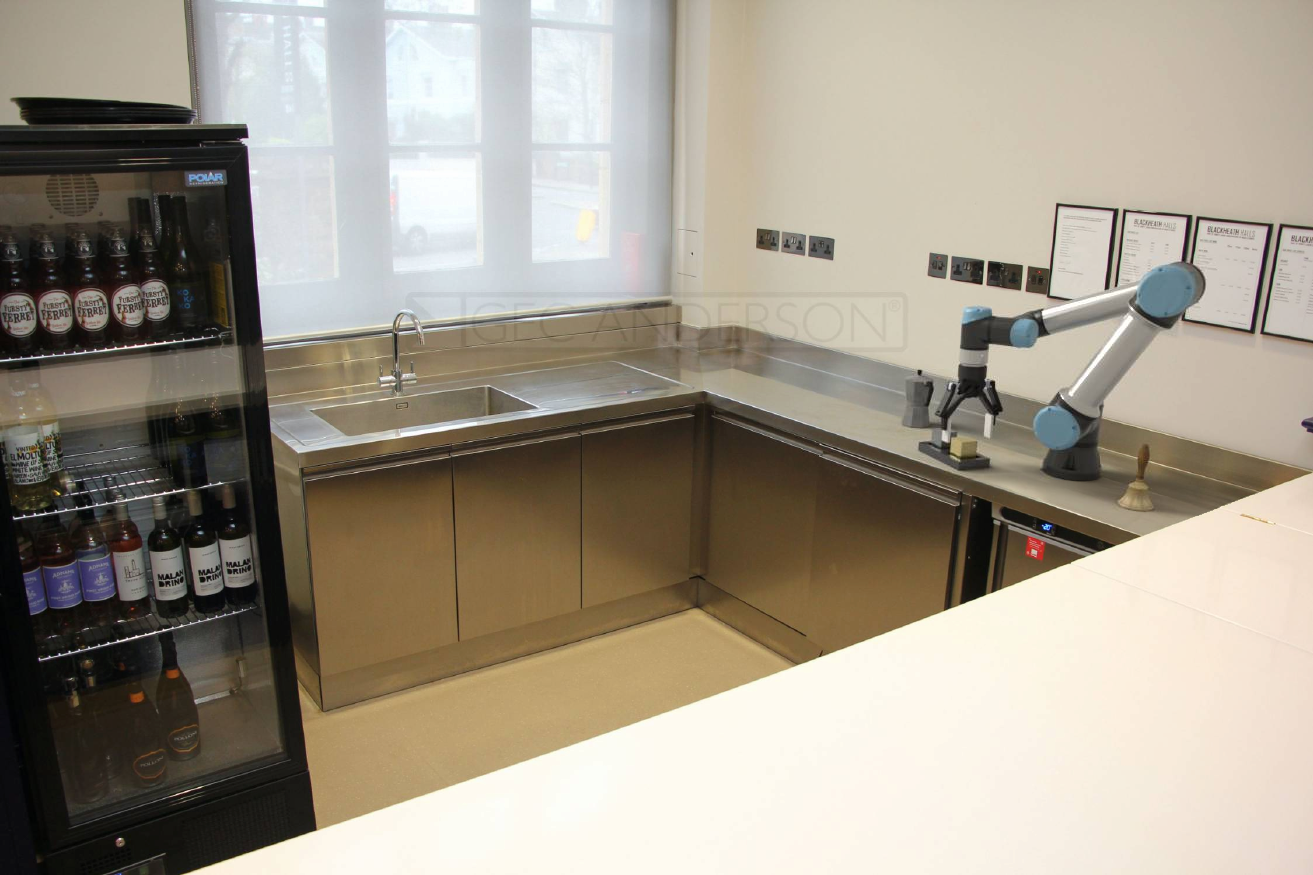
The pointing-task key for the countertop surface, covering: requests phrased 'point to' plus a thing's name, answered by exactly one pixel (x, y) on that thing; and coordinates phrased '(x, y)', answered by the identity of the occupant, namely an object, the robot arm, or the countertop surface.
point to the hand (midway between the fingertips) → (966, 439)
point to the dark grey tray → (953, 458)
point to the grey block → (937, 439)
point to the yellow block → (963, 447)
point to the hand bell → (1138, 486)
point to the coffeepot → (917, 400)
